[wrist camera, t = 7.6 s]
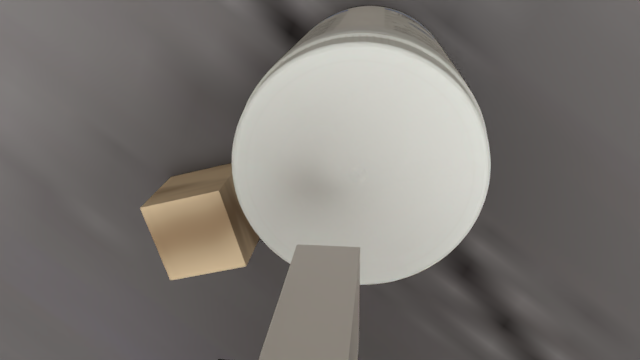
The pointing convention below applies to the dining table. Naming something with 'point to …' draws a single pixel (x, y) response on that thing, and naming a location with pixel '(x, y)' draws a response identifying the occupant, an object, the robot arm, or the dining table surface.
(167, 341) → the dining table surface
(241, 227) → the oak block
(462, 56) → the dining table surface
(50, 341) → the dining table surface
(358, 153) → the supplement tub
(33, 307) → the dining table surface
